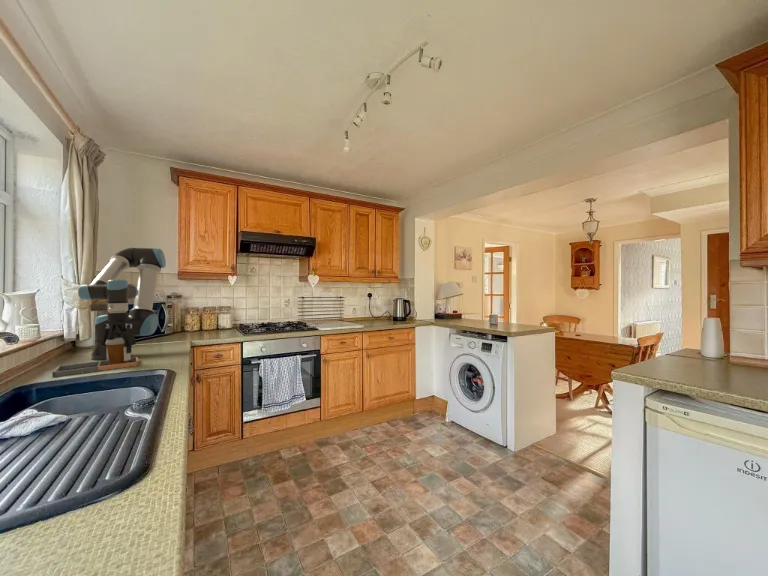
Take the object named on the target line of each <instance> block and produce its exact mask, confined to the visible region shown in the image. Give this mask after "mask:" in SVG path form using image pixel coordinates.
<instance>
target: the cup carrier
mask: <svg viewBox="0 0 768 576" xmlns="http://www.w3.org/2000/svg"><path fill="white" fill-rule="evenodd" d="M129 361H133V362H129ZM139 361H140V360H139V356H131V360H127V363H121V364H113V365H110V363H109V361H107V359H104V360H95V361H89V362H81V363H73V364H64V365H63V364H62V365H58V366H56V367H55V369H54V370H53V371H52V378H56V376H58V377H63V375H65V376H71V375H70V374H73V375H78V374H77V373H81V374H83V373H82V372H88V373H91V372H90V371H96V372H100V371H99V370H103V371H108V370H107V369H111V370H115V369H114V368H119V369H124V368H123V367H126V368H130V367H129V366H134V367H137V366H136V365H139V366H140V364H139ZM105 364H108V365H105ZM90 366H92V367H90ZM82 367H84V368H82ZM75 368H76V369H75ZM67 369H68V370H67Z"/></svg>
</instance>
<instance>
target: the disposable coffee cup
mask: <svg viewBox="0 0 768 576" xmlns="http://www.w3.org/2000/svg"><path fill="white" fill-rule="evenodd" d="M105 343H106V346H107V351H108V357H109V363H110V364H109V365H113V364H121V363H128V362H127V361H124V346H125V342H124V339H122V338H114V339H112V340H109V339H107V340H106V342H105ZM128 344H129V343H128Z"/></svg>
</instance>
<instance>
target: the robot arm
mask: <svg viewBox="0 0 768 576" xmlns="http://www.w3.org/2000/svg"><path fill="white" fill-rule="evenodd" d="M166 264H167V263H166V257H165V253H164V251H163V250H162V249H161V248H154V247H152V248H151V247H147V248H146V247H128V248H124V249H122V250H119V251H117V252H116V253H114V254H113V255H112V256H111V257H110V258H109V259H108V263H107V265H106V266H104V268H103V269H102V270H101V272H100V273H98V274H97V276H96V277H95V278H94V279H93V280H92V282H90V284H87V283H86V284H81V285H80V286H79V287H78V289H77V295H78V297H79V298H80V299H81V300H84V301H87V300H88V301H103V300H104V301H105V300H107V312H108V313H107V314H102V315H98V316H96V317H95V320H94V321H95V322H94V337H95V340H94V341H95V343H94V347H93V349H92V351H91V354H90V355H91V356H90V359H91V360H93V361H105V360H107V361H109V357H108V351H107V346H106V343H105V342H106V340H107V339H109V340H112V339H114V338H122V339H124V342H125V346H124V361H127V360H131V357H132V355H131V353H132V346H134V345H136V343H137V342H136V338H135V337H141V336H142V337H143V336H144V337H145V336H151V335H153V334H154V333H155V332H156V330H157V328H158V326H159V317H158V314H156V312H155V311H154V309H153V306H154V299H155V292H156V286H157V285H156V284H157V277H158V274H159V273H160V272H161V270H162V269H165V268H166ZM130 268H136V270H138V271H139V272H138V278H137V283H136V285H134V284H131V283H129V282H128V280H126V279H119V277H120V276H121V275H122V274H123V272H124V271H127V270H128V269H130ZM132 299H134V302H133V307H132V308H131V309H130V310H129V300H132ZM128 311H129V312H128ZM128 343H129V344H128Z"/></svg>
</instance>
